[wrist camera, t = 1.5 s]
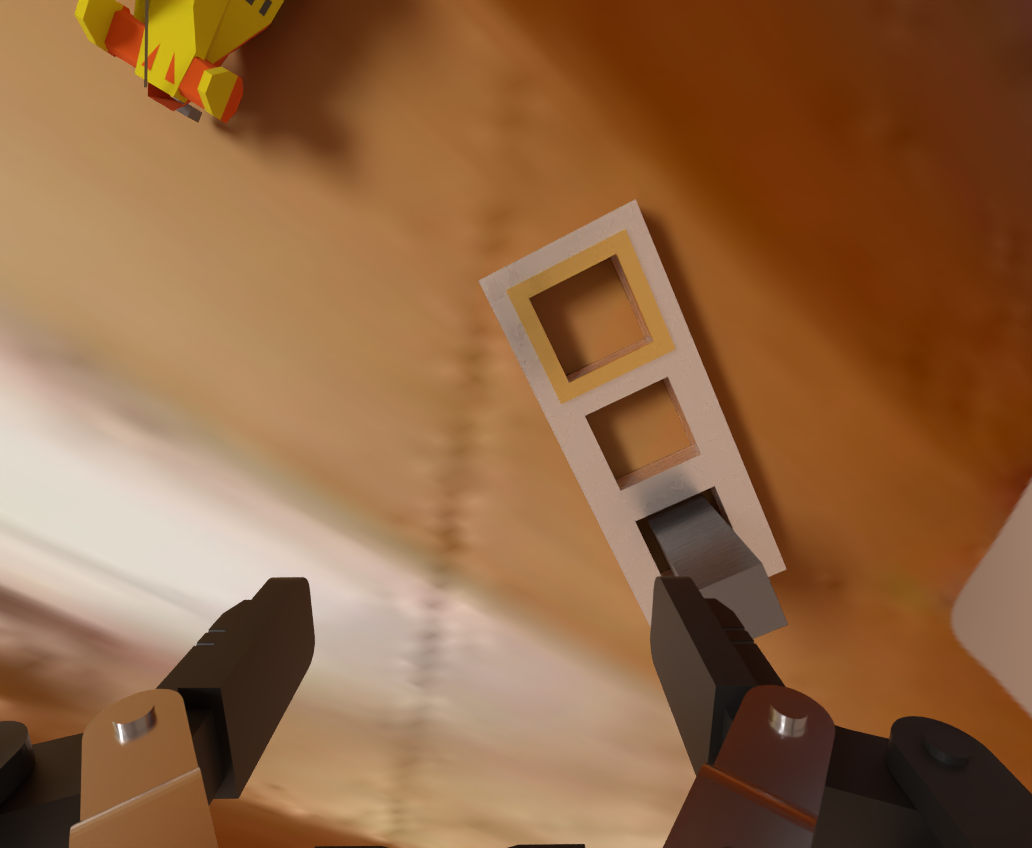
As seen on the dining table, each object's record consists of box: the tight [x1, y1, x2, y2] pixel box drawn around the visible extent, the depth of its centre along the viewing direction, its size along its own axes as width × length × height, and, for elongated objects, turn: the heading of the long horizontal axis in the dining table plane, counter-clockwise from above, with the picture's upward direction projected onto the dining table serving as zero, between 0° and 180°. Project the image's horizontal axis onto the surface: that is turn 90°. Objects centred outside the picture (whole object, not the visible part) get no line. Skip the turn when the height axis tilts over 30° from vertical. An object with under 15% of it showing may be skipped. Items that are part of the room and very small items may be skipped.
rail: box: [479, 199, 786, 626], centre depth 34 cm, size 10×26×2 cm, turn 26°
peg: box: [646, 493, 788, 639], centre depth 33 cm, size 4×4×10 cm
